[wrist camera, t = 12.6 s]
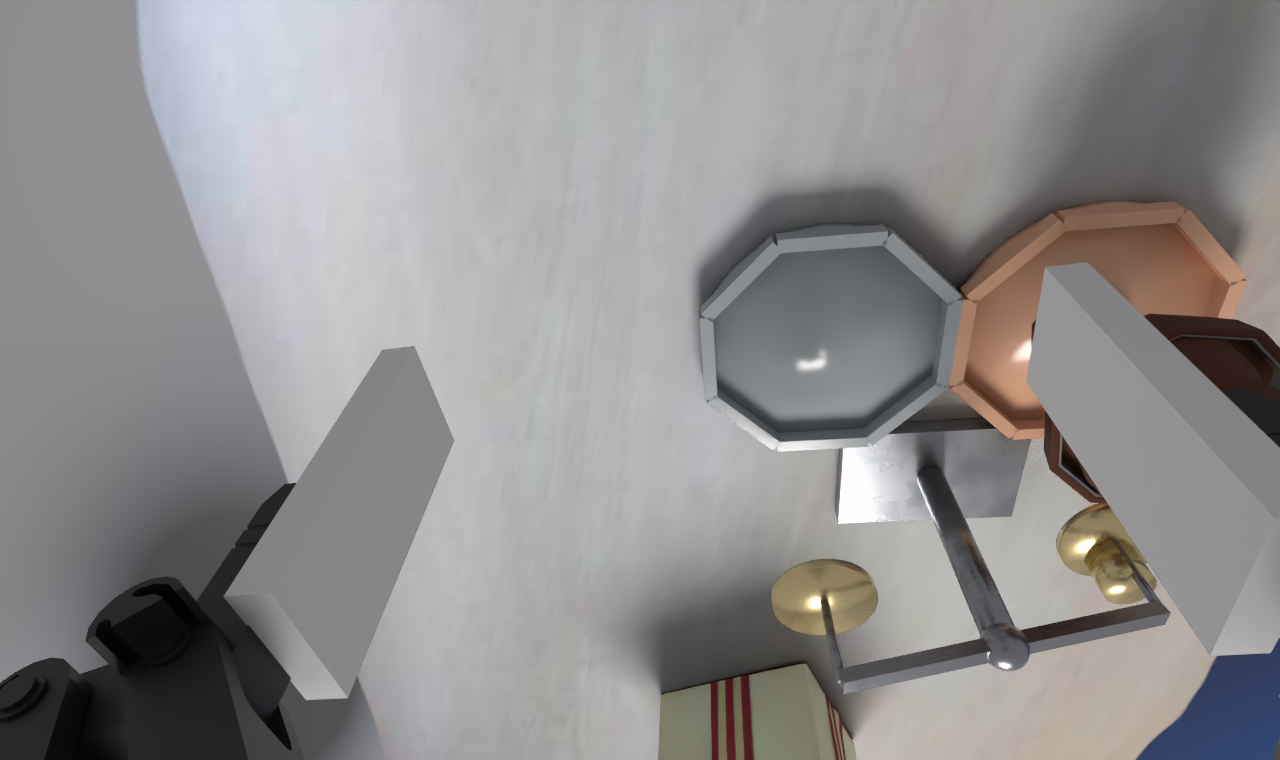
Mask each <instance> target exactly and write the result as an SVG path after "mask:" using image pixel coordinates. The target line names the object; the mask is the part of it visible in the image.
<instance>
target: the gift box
mask: <svg viewBox="0 0 1280 760" xmlns="http://www.w3.org/2000/svg"><path fill="white" fill-rule="evenodd" d="M658 760H856V753H855V747H854V743H853V741H852V739H851V738H850V736H849V734H848V733H847V731H846V730H845V728H844V726H843V725H842V720H841V716H840V715H839V713H838V712H837V711H836V710H835V709H834V708H833V707H832V706H831V705H830V702H829V699H828V698H827V696H826V695H825V694H824V693H823V691H822V689H821V687H820V686H819V684H818V682H817V681H816V679H815V677H814V675H813V674H812V672H811V670H810V669H809V667H808V665H807V664H797V665H793V666H788V667H783V668H779V669H774V670H769V671H764V672H760V673H756V674H751V675H745V676H740V677H736V678H732V679H727V680H722V681H718V682H714V683H710V684H705V685H701V686H696V687H692V688H688V689H683V690H679V691H674V692H669V693H664V694H663V695H661V705H660V730H659V754H658Z"/></svg>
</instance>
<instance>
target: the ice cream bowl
mask: <svg viewBox="0 0 1280 760" xmlns="http://www.w3.org/2000/svg"><path fill="white" fill-rule="evenodd" d="M1144 317H1145V318H1146V319H1147V320H1148V321H1149V322H1150V323H1151V324H1152V325H1153V326H1154V327H1155V328H1156V329H1157V330H1158V331H1159V332H1160V333H1161V334H1162V335H1163V336H1164V337H1165V338H1167V339H1168V340H1169V341H1170V342H1171V343H1172V344H1173V345H1174V346H1175V347H1176V348H1177V349H1178V350H1179V351H1180V352H1181V353H1182V354H1183V355H1184V356H1185V357H1186V358H1187V359H1188V360H1189V361H1190V362H1191V363H1192V364H1193V365H1195V366H1196V367H1197V368H1198V369H1199V370H1200V371H1201V372H1202V373H1203V374H1204V375H1205V376H1206V377H1207V378H1208V379H1209V380H1210V381H1211V382H1212V383H1213V384H1214V385H1215V386H1216V387H1217V388H1218V389H1219V390H1220V391H1225V390H1235V389H1245V388H1248V389H1250V390H1252V391H1254V392H1256V393H1258V394H1260V395H1262V396H1264V397H1266V398H1268V399H1270V400H1272V401H1274V402H1276V403H1278V404H1280V348H1279V347H1278V346H1277V344H1276V343H1275V342H1274V341H1273V340H1272V339H1271V338H1270V337H1269V336H1268V335H1267V334H1266V333H1265V332H1264V331H1263V330H1261V329H1258V328H1256V327H1253V326H1251V325H1249V324H1246V323H1244V322H1241V321H1239V320H1233V319H1225V318H1216V317H1203V316H1185V315H1167V314H1147V315H1145V316H1144ZM1035 324H1036V320H1035V321H1034V323H1033V324H1032V335H1031V348H1032V342H1033V336H1034V330H1035ZM1044 452H1045V455H1046V458H1047V462H1048V465H1049V468H1050V470H1051V471H1052V472H1053V473H1055V474H1056V475H1057V476H1058V477H1060V478H1061V479H1062V480H1063V481H1064V482H1066V483H1067V484H1068V485H1069V486H1071V487H1072V488H1073V489H1074V490H1075V491H1077V492H1078V493H1079V494H1080V495H1082V496H1083V497H1084V498H1085V499H1087V500H1088V501H1089V502H1092V503H1107V502H1106V500H1105V499H1104V497H1103V496H1102V494H1101V493H1100V491H1099V490H1098V488H1097V487H1096V485H1095V484H1094V482H1093V481H1092V479H1091V478H1090V476H1089V475H1088V473H1087V472H1086V470H1085V469H1084V467H1083V466H1082V464H1081V463H1080V461H1079V460H1078V458H1077V457H1076V455H1075V454H1074V452H1073V451H1072V449H1071V448H1070V446H1069V445H1068V443H1067V442H1066V440H1065V439H1064V437H1063V436H1062V434H1061V433H1060V431H1059V430H1058V428H1057V427H1056V425H1055V424H1054V422H1053V421H1052V420H1051V418H1050V417H1049V415H1048V414H1047V412H1046V411H1045V427H1044Z"/></svg>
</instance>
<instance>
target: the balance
mask: <svg viewBox="0 0 1280 760" xmlns="http://www.w3.org/2000/svg"><path fill="white" fill-rule="evenodd" d="M1030 441H1031V439H1019V440H1013V439H1012V438H1007V437H1006V436H1005V435H1004V434H1003V433H1002V432H1000V431H999V430H998V429H997V428H996V427H995V426H993V425H992V424H991V423H990V422H989V421H987V420H986V419H985V418H973V419H954V420H935V421H916V422H903V423H902V424H900V425H899V426H898V427H896V428H895V429H894V430H892V431H891V432H890V433H888V434H887V435H886V436H884V437H883V438H882V439H880V440H879V441H878V442H876V443H875V444H874V445H871V444H870V443H868V447H859V448H839V461H838V477H837V493H836V508H835V512H836V516H837V520H838V523H857V522H882V521H907V520H932V519H933V521H934V523H935V526H936V528H937V531H938V533H939V536H940V538H941V541H942V543H943V545H944V548H945V550H946V553H947V555H948V558H949V560H950V562H951V565H952V567H953V570H954V572H955V575H956V577H957V579H958V582H959V584H960V587H961V589H962V592H963V594H964V597H965V599H966V601H967V604H968V606H969V609H970V611H971V614H972V616H973V618H974V621H975V623H976V626H977V628H978V631H979V633H980V635H981V636H980V639H977V640H973V641H968V642H963V643H959V644H954V645H949V646H945V647H940V648H935V649H931V650H926V651H921V652H917V653H912V654H907V655H903V656H898V657H893V658H889V659H884V660H879V661H875V662H870V663H865V664H861V665H856V666H851V667H847V668H843V666H842V661H841V656H840V652H839V647H838V642H837V637H836V634H838V633H843V632H846V631H849V630H851V629H853V628H856V627H857V626H859V625H861V624H862V623H864V622H865V621H866V620H867V619H868V618H869V617H870V616H871V615H872V614H873V612H874V611H875V609H876V607H877V603H878V594H877V590H876V587H875V583H874V581H873V579H872V577H871V576H870V575H869V574H868V572H867V571H865V570H864V569H863V568H861V567H859V566H858V565H855V564H853V563H850V562H847V561H843V560H837V559H818V560H812V561H808V562H804V563H801V564H798V565H796V566H794V567H792V568H790V569H789V570H787V571H786V572H784V573H783V574H782V575H781V576H780V577H779V578H778V579H777V580H776V582H775V584H774V585H773V588H772V591H771V601H772V608H773V612H774V614H775V616H776V617H777V619H778V620H779V621H780V622H781V623H782V624H783V625H785V626H786V627H788V628H790V629H792V630H794V631H797V632H800V633H803V634H809V635H827V640H828V645H829V650H830V655H831V660H832V665H833V670H834V675H835V680H836V683H837V684H839V686H840V688H841V690H842V692H843V694H848V693H852V692H857V691H861V690H866V689H871V688H875V687H880V686H885V685H889V684H894V683H898V682H903V681H908V680H912V679H917V678H921V677H926V676H931V675H935V674H940V673H944V672H949V671H954V670H958V669H963V668H967V667H972V666H977V665H981V664H986V663H989V664H990V665H992V666H993V667H995V668H997V669H1000V670H1003V671H1014V670H1018V669H1020V668H1021V667H1023V666H1024V665H1025V664H1026V663H1027V661H1028V659H1029V656H1030V654H1032V653H1036V652H1041V651H1046V650H1050V649H1055V648H1059V647H1064V646H1069V645H1073V644H1078V643H1082V642H1087V641H1092V640H1096V639H1101V638H1105V637H1110V636H1115V635H1119V634H1124V633H1128V632H1133V631H1138V630H1142V629H1147V628H1151V627H1156V626H1161V625H1165V623H1166V621H1167V619H1168V617H1169V615H1170V613H1171V612H1170V611H1169V610H1168V609H1167V608H1166V607H1165V606H1164V605H1163V604H1162V603H1161V602H1160V600H1159V599H1158V597H1157V596H1156V594H1155V593H1154V592H1153V591H1154V590H1155V588H1156V585H1157V581H1156V579H1155V577H1154V576H1153V575H1152V573H1151V572H1150V570H1149V569H1148V567H1147V566H1146V565H1145V564H1146V563H1147V561H1146V560H1145V558H1144V557H1143V555H1142V554H1141V552H1140V551H1139V549H1138V548H1137V546H1136V545H1135V543H1134V542H1133V540H1132V539H1131V537H1130V536H1129V534H1128V533H1127V531H1126V530H1125V528H1124V527H1123V525H1122V524H1121V522H1120V521H1119V519H1118V518H1117V516H1116V515H1115V513H1114V512H1113V510H1112V509H1111V507H1110V506H1109V505H1108V503H1098V504H1095V505H1092V506H1090V507H1088V508H1086V509H1084V510H1082V511H1080V512H1079V513H1077V514H1076V515H1074V516H1073V517H1072V518H1071V519H1069V520H1068V521H1067V522H1066V523H1065V524H1064V526H1063V527H1062V528H1061V530H1060V532H1059V534H1058V536H1057V540H1056V548H1057V552H1058V554H1059V556H1060V557H1061V559H1062V561H1063V562H1064V564H1065V565H1066V566H1067V567H1068V568H1069V569H1071V570H1072V571H1074V572H1076V573H1079V574H1082V575H1086V576H1092V577H1093V579H1094V580H1095V582H1096V584H1097V585H1098V587H1099V589H1100V590H1101V592H1102V593H1103V595H1104V597H1105V598H1106V599H1107V600H1108V601H1110V602H1112V603H1116V604H1130V603H1134V602H1137V601H1140V600H1142V599H1144V598H1146V599H1147V600H1148V602H1149V603H1145V604H1141V605H1136V606H1131V607H1127V608H1122V609H1117V610H1113V611H1108V612H1103V613H1099V614H1094V615H1089V616H1085V617H1080V618H1075V619H1071V620H1066V621H1061V622H1057V623H1052V624H1047V625H1043V626H1038V627H1033V628H1029V629H1024V630H1019V629H1018V628H1017V627H1015V626H1014V624H1013V622H1012V619H1011V617H1010V615H1009V613H1008V611H1007V609H1006V606H1005V604H1004V602H1003V600H1002V598H1001V596H1000V593H999V591H998V589H997V587H996V585H995V583H994V581H993V578H992V576H991V574H990V572H989V570H988V568H987V565H986V563H985V561H984V559H983V557H982V555H981V553H980V550H979V548H978V546H977V544H976V542H975V540H974V537H973V535H972V533H971V531H970V529H969V527H968V524H967V522H966V520H965V518H983V517H1008V516H1012V512H1013V508H1014V504H1015V500H1016V496H1017V492H1018V488H1019V485H1020V481H1021V477H1022V473H1023V469H1024V465H1025V461H1026V457H1027V453H1028V449H1029V445H1030Z"/></svg>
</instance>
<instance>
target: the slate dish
mask: <svg viewBox="0 0 1280 760" xmlns="http://www.w3.org/2000/svg"><path fill="white" fill-rule="evenodd" d="M961 297H962V296H961V294H960V293H959V292H958V290H957V289H956V288H955V287H954V286H953V285H952V284H951V283H950V282H949V281H948V280H947V279H946V278H944V277H943V276H942V275H941V274H940V273H939V272H938V271H937V270H936V269H935V268H934V267H932V266H931V265H930V263H929V262H928V261H927V260H926V259H925V258H924V257H923V256H922V255H921V254H920V252H918V251H917V250H916V249H915V248H913V247H912V246H911V245H909V244H908V243H907V242H905V241H904V240H903V239H902V238H901V237H900V236H899V235H898V234H897V233H896V232H895V231H893V230H892V229H891V228H890V227H889V226H888V227H887V228H886V227H885V226H884V224H883V225H871V226H864V225H858V224H848V223H827V224H820V225H812V226H807V227H803V228H800V229H796V230H792V231H789V232H783V233H776V237H775V238H773V237H772V236H770V237H769V238H768V239H767V240H766V241H765V242H764V243H763V244H762V245H760V246H758V247H757V248H756V249H754V250H753V251H751V252H750V253H748V254H747V255H746V256H745V257H743V258H742V259H741V260H740V261H739V262H738V263H737V264H736V265H735V266H734V267H733V268H732V269H731V270H730V271H729V272H728V273H727V275H726V276H725V277H724V278H723V279H722V281H721V283H720V284H719V286H718V287H717V289H716V290H715V292H714V293H713V294H712V295H711V296H710V298H709V299H708V300H707V301H706V302H705V303H704V304H703V305H702V306H701V310H700V311H699V320H700V335H701V350H702V364H703V379H704V394H705V400H707V404H709V405H710V406H712V407H713V408H714V409H716V410H717V411H719V412H720V413H721V414H723V415H724V416H726V417H727V418H728V419H730V420H731V421H733V422H734V423H735V424H737V425H738V426H740V427H741V428H742V429H744V430H745V431H747V432H748V433H749V434H751V435H752V436H754V437H755V438H756V439H758V440H759V441H761V442H762V443H763V444H765V445H766V446H768V447H769V448H770V449H772V450H774V449H776V448H777V452H779V451H799V450H819V449H839V448H859V447H868V443H870V444H871V445H874V444H875V443H876V442H878V441H879V440H880V439H882V438H883V437H884V436H886V435H887V434H888V433H890V432H891V431H892V430H894V429H895V428H896V427H898V426H899V425H900V424H902V423H903V422H904V421H906V420H907V419H908V418H910V417H911V416H912V415H914V414H915V413H916V412H918V411H919V410H920V409H922V408H923V407H924V406H925V405H927V404H928V403H929V402H931V401H932V400H933V399H935V398H936V397H937V396H939V395H940V394H941V393H943V392H944V391H945V390H947V389H946V387H945V386H949V384H950V378H951V372H952V366H953V360H954V354H955V348H956V342H957V336H958V329H959V323H960V317H961V311H962V305H963V299H962V298H961Z"/></svg>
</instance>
